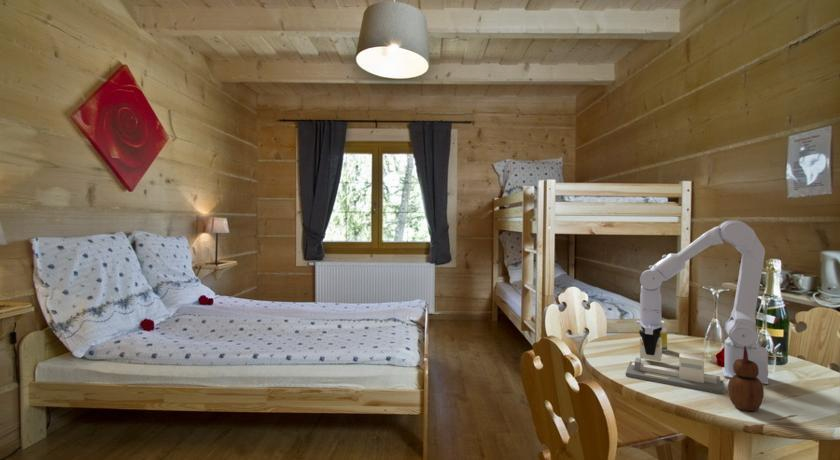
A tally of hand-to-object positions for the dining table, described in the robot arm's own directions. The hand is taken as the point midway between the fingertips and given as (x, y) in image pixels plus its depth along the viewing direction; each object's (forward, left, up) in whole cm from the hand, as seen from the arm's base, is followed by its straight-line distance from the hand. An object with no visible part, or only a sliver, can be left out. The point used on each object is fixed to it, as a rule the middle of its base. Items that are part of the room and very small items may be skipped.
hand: (650, 352), depth 124 cm
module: (0, 0, -2) cm, 2 cm away
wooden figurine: (-21, +23, -4) cm, 31 cm away
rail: (-6, +11, -3) cm, 13 cm away
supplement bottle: (-1, -16, -4) cm, 16 cm away
